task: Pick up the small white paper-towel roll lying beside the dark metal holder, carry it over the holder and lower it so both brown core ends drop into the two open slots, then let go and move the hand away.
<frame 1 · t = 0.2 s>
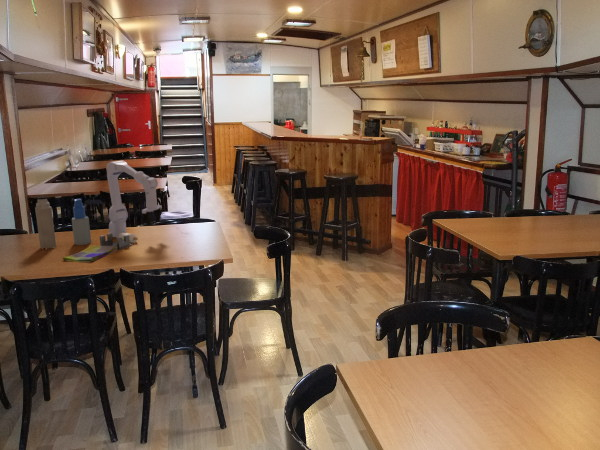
hand: (153, 223, 315), 10 cm above the table, tool pointing down, fingers open, 7 cm apart
dish towel: (91, 256, 290), on the table
spray bottle: (82, 243, 315), on the table
roll holder: (115, 246, 306), on the table
thermos bottle: (48, 247, 308), on the table
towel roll: (127, 237, 315), point 2 cm above the table
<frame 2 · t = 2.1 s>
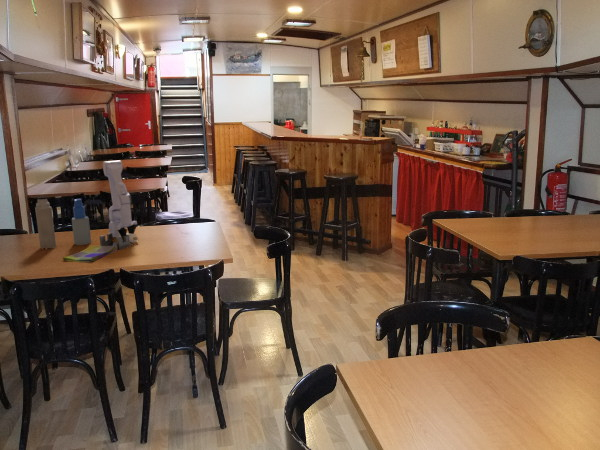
hand: (127, 239, 315), 1 cm above the table, tool pointing down, fingers closed on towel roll, 5 cm apart
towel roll: (127, 237, 315), point 2 cm above the table, touching gripper
everything else where it was.
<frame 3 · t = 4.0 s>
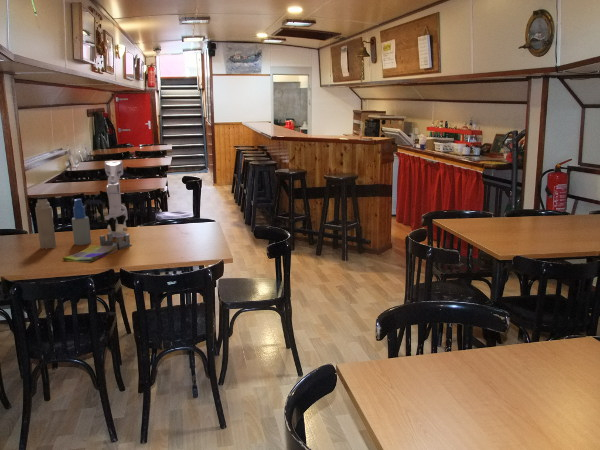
hand: (117, 230, 307), 8 cm above the table, tool pointing down, fingers closed on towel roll, 5 cm apart
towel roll: (117, 228, 307), point 9 cm above the table, touching gripper
everything else where it was.
when the fingers open (4 cm above the table, at t = 5.8 s): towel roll stays where it is, resting on roll holder.
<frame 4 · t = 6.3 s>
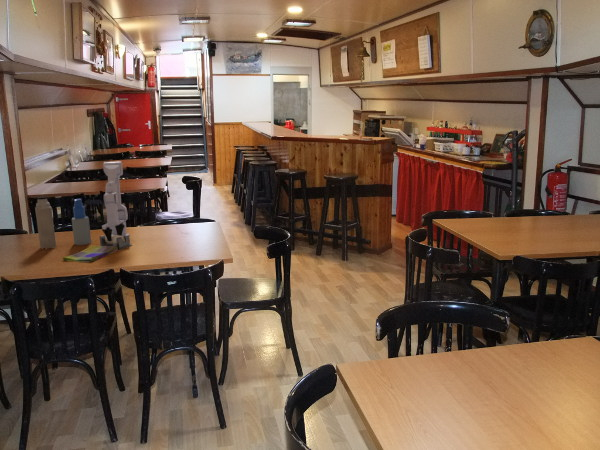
hand: (114, 239, 306), 4 cm above the table, tool pointing down, fingers open, 7 cm apart
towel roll: (114, 239, 306), point 4 cm above the table, touching roll holder
everything else where it was.
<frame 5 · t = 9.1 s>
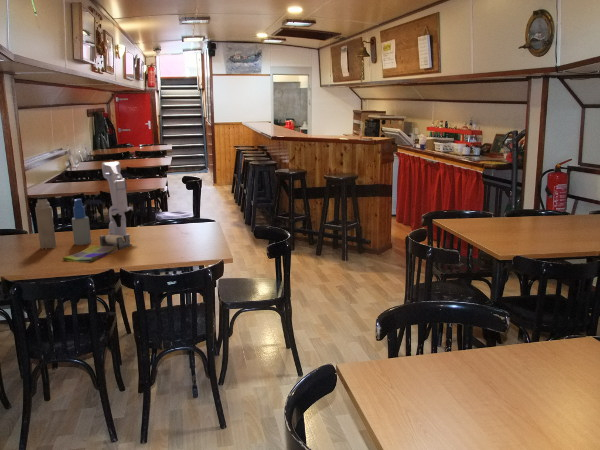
hand: (123, 225, 314), 9 cm above the table, tool pointing down, fingers open, 7 cm apart
nothing on the table moved.
at the end: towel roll 0.1 cm off-centre on the roll holder, point 3.8 cm above the roll holder's base; the gripper is holding nothing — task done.
